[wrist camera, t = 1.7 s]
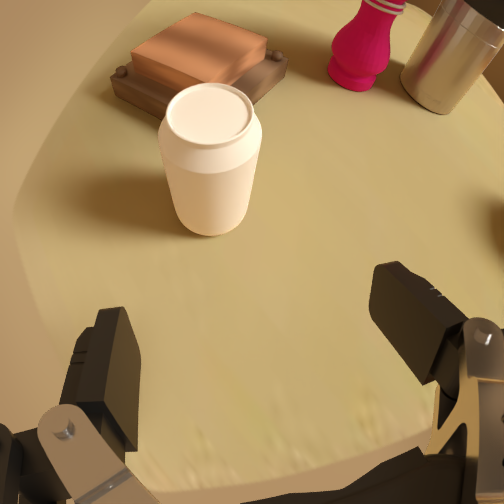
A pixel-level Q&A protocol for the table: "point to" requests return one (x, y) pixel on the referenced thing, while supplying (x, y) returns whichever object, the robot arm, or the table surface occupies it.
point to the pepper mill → (364, 44)
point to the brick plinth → (165, 95)
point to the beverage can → (210, 155)
